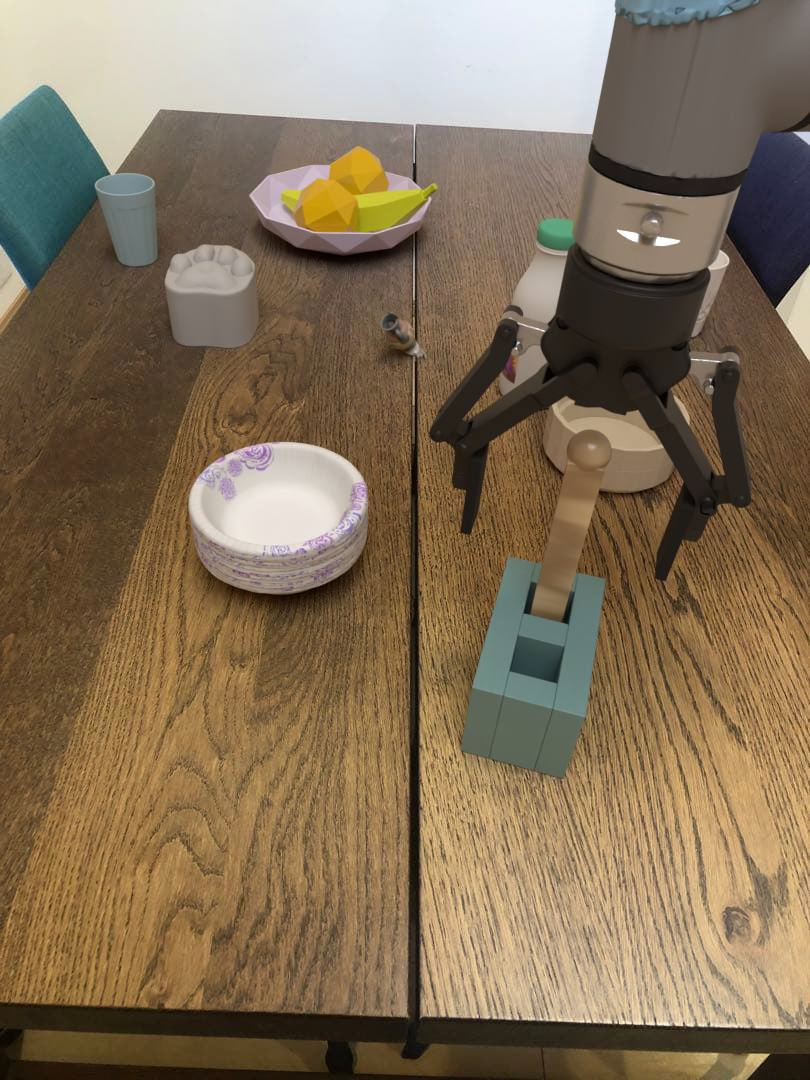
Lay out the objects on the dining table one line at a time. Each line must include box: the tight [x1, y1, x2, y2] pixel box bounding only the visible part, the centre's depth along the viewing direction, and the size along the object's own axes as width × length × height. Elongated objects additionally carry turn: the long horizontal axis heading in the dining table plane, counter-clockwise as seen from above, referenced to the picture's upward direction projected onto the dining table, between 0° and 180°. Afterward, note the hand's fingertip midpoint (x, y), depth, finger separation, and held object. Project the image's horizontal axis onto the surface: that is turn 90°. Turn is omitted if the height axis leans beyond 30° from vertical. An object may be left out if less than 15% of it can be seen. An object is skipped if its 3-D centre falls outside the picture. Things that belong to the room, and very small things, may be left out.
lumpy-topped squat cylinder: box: [164, 244, 260, 349], centre depth 102 cm, size 10×13×9 cm
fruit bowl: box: [248, 145, 439, 257], centre depth 121 cm, size 28×27×11 cm
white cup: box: [691, 249, 731, 338], centre depth 107 cm, size 8×8×10 cm
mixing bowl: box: [541, 393, 691, 494], centre depth 87 cm, size 14×14×6 cm
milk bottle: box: [498, 217, 575, 410], centre depth 90 cm, size 8×8×20 cm
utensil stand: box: [459, 555, 607, 780], centre depth 62 cm, size 8×13×8 cm, turn 164°
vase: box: [379, 312, 428, 364], centre depth 99 cm, size 5×5×6 cm
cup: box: [94, 172, 159, 267], centre depth 112 cm, size 8×8×10 cm
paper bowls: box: [187, 441, 369, 596], centre depth 72 cm, size 15×15×8 cm
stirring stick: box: [530, 429, 612, 622], centre depth 59 cm, size 3×3×24 cm
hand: (563, 544), depth 57 cm, fingers open, 13 cm apart
